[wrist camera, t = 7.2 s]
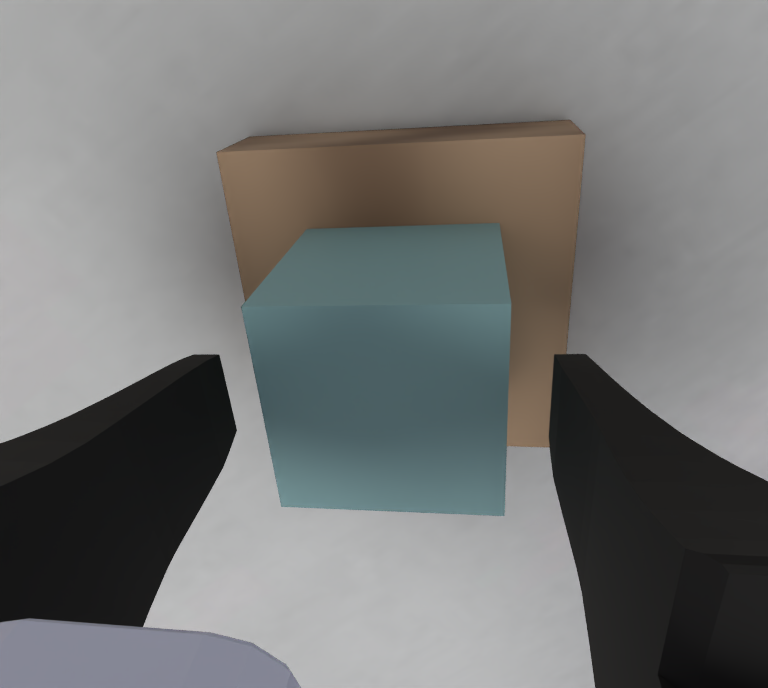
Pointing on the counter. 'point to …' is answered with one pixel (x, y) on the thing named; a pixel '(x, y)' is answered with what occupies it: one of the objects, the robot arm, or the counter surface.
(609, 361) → the counter surface
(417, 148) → the walnut block
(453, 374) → the teal cube
